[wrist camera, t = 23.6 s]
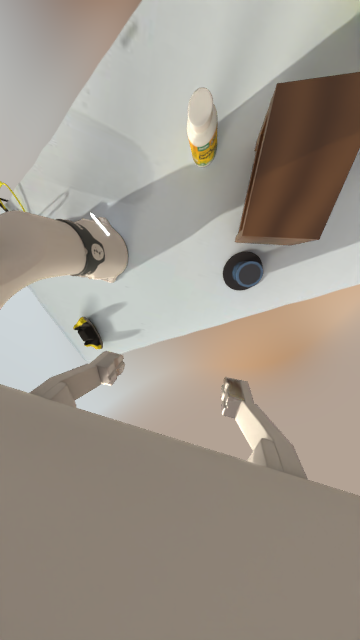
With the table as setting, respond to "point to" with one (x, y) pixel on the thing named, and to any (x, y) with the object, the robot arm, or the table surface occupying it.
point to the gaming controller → (88, 333)
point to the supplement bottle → (202, 127)
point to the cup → (247, 273)
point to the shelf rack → (301, 159)
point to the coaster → (231, 264)
